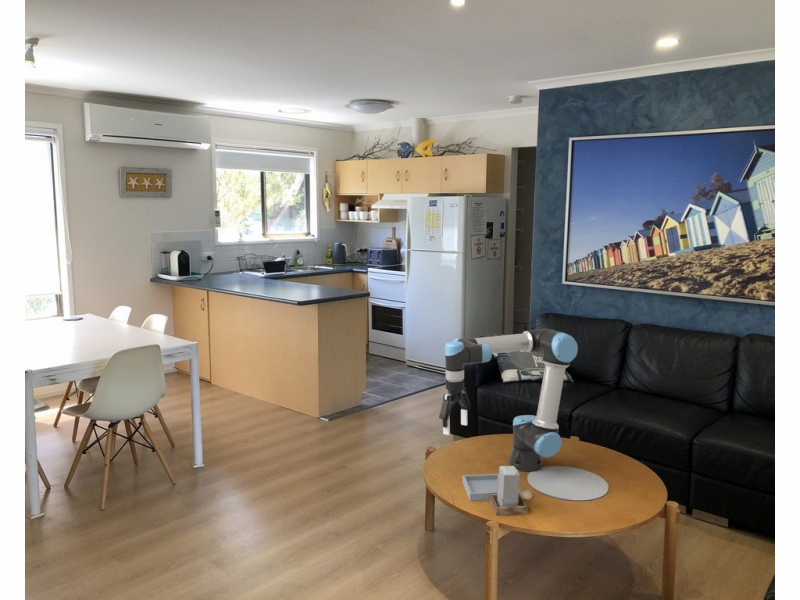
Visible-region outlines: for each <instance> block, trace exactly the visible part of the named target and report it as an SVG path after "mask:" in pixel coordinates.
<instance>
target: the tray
mask: <svg viewBox="0 0 800 600" xmlns="http://www.w3.org/2000/svg"><path fill="white" fill-rule="evenodd" d="M461 476H462V485H463V487H464V489H465V492H466V494H467V498H468V499H469V501H470V502H475V501H476V502H477V501H490V494H498V481H499V473H487V474H485V473H484V474H463V475H461Z"/></svg>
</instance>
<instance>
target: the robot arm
mask: <svg viewBox="0 0 800 600" xmlns="http://www.w3.org/2000/svg"><path fill="white" fill-rule="evenodd" d="M444 348H445V349H444V350H445V351H444V356H445V359H444V360H445V389H446V390H447V391H448V392H447V394H445V393H444V394H443V396H442V397H443V398H442V402H441V408H440V412H439V417H438V418H439V420H440V419H441V420H442V433H443V435H446V436H450V433H451V431H450V430H451V427H450V421H451V420H450V419H449V418H450V415H451V412H452V409H453V406H454V405H455V404H456V403H457V402H458V404H459V406H460V407H461V409H460V424H461V425H462V426H468V411H470V409H471V406H472V405H471V402H470V399H469V397H468V393H467V388H466V387H465V380H464V379H465V366H466V365H472V364H483V363H488V362H490V360H492V354H493V355H494V354H501V353H511V352H522V351H523V352H525V353H538V354H541V355H542V359H541V360H542V362H543V364H544V371H543V376H542V377H543V378H542V383H541V387H540V394H539V400H538V406H537V411H536V415H531V414H525V415H518V416H515V417H514V418H513V420H512V432H513V433H512V449H511V453H510V455H509V458H508V466H515V468H516V469H517V470H518V471H521V472H534V471H539V470H541V469H542V468H543V459H542V457H543V458H549V457H553V456H554V455H556V454H558V452H559V451H560V450H561V447H562V443H563V440H562V437H561V436H560V434H559V430H560V429H559V427H560V426H559V424H558V422H557V421H558V413H559V407H560V402H561V396H562V390H563V385H564V378H565V373H566V372H565V371H566V369H567V368H568V367H570V364H571V362H572V361H574V359H575V358H576V357H577V355H578V352H579V351H578V348H579V347H578V342H577V341H576V340H575V338H574V337H573V336H572V335H570V334H568V333H566V332H562V331H557V330H554V329H552V328H540V329H533V330H524V331H523V332H522V333H517V334H516V333H515V334H506V335H505V334H504V335H497V336H496V335H494V336H484V337H474V338H464V337H457V338H455V339H453V340H452V341H448V342H446V343H445V347H444ZM461 425H460V426H461Z"/></svg>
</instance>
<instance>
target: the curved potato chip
mask: <svg viewBox="0 0 800 600" xmlns="http://www.w3.org/2000/svg"><path fill="white" fill-rule="evenodd" d="M519 493H520V495H521V496H522V498H523V500H524V501H528V500H531V499H532V498H533V497H534V496H533V492H531V491H530V490H528V489H522V488H519Z"/></svg>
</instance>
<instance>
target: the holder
mask: <svg viewBox="0 0 800 600" xmlns="http://www.w3.org/2000/svg"><path fill="white" fill-rule="evenodd" d="M497 495H498V494H490V500H489V503H490V504H491V507H492V509H493V511H494V513H495V515H496V516H512V515H513V516H514V515H515V516H516V515H528V505H527V503H526V502H525V500H523V498H522V496H521V495H520V493H519V494H518V506H511V507H499V505H498V503H497Z"/></svg>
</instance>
